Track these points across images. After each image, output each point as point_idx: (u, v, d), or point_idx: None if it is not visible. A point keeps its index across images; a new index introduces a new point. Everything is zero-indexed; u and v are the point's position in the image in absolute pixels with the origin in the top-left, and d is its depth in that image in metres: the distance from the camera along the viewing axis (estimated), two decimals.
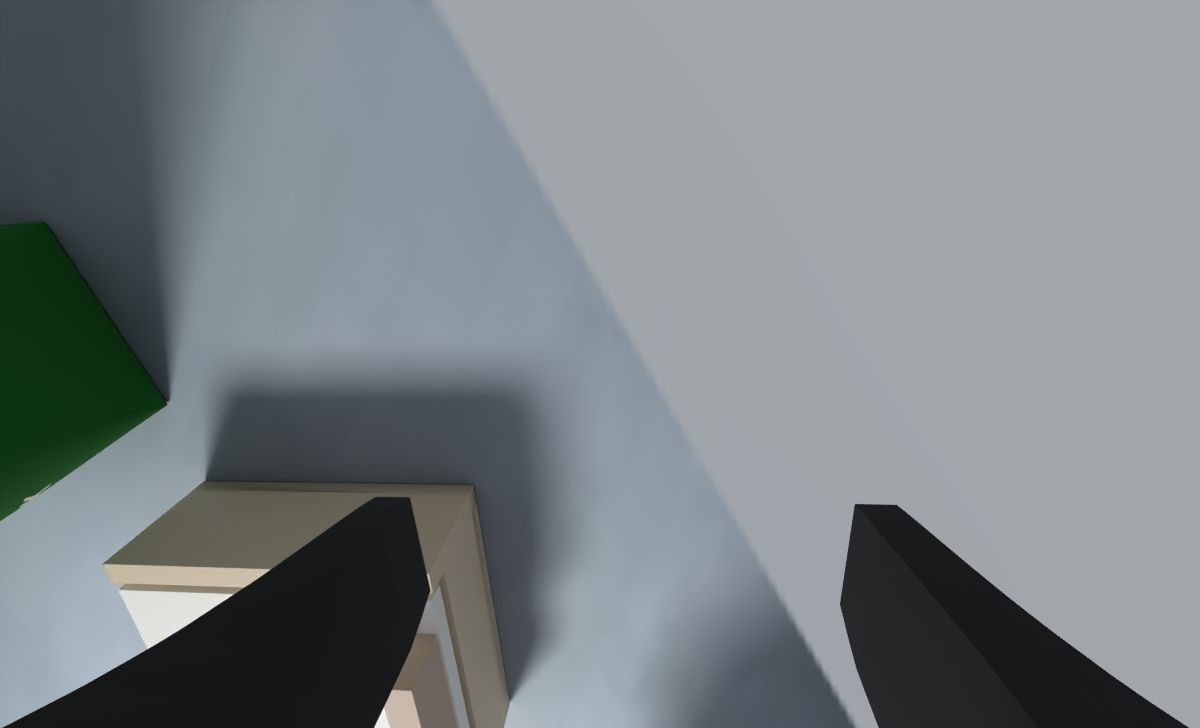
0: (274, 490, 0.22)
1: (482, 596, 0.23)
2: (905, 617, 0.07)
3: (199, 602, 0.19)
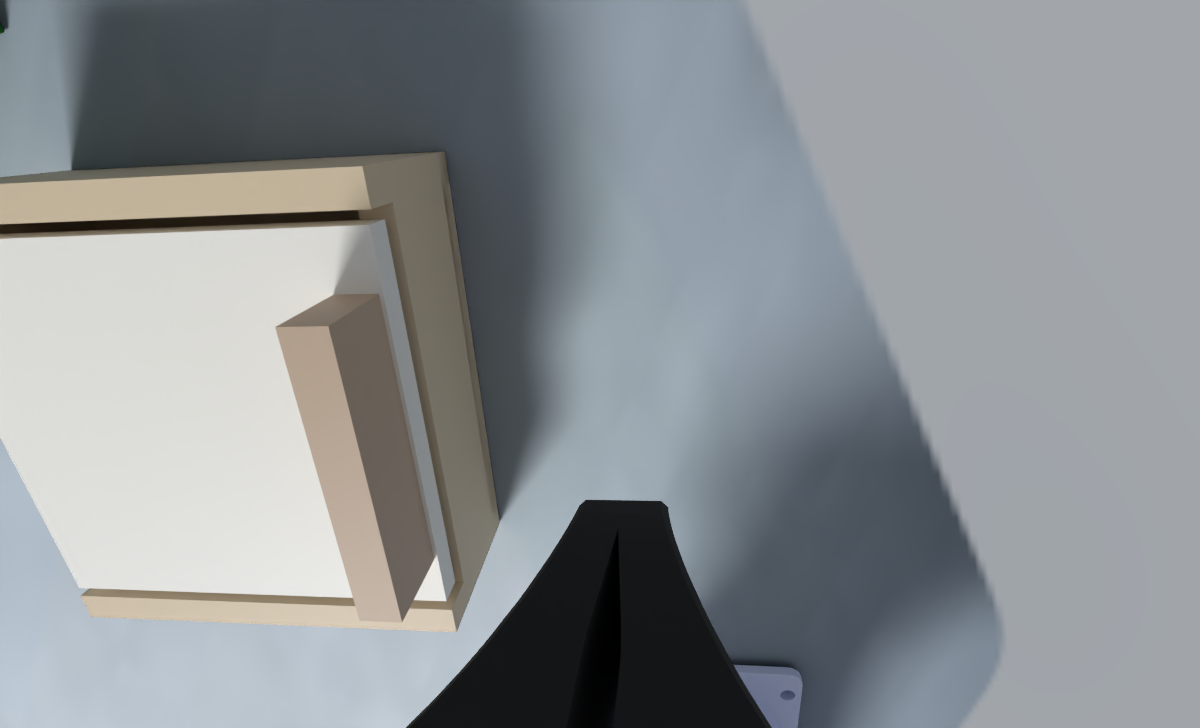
0: (162, 166, 0.16)
1: (459, 328, 0.16)
2: None
3: (19, 257, 0.12)
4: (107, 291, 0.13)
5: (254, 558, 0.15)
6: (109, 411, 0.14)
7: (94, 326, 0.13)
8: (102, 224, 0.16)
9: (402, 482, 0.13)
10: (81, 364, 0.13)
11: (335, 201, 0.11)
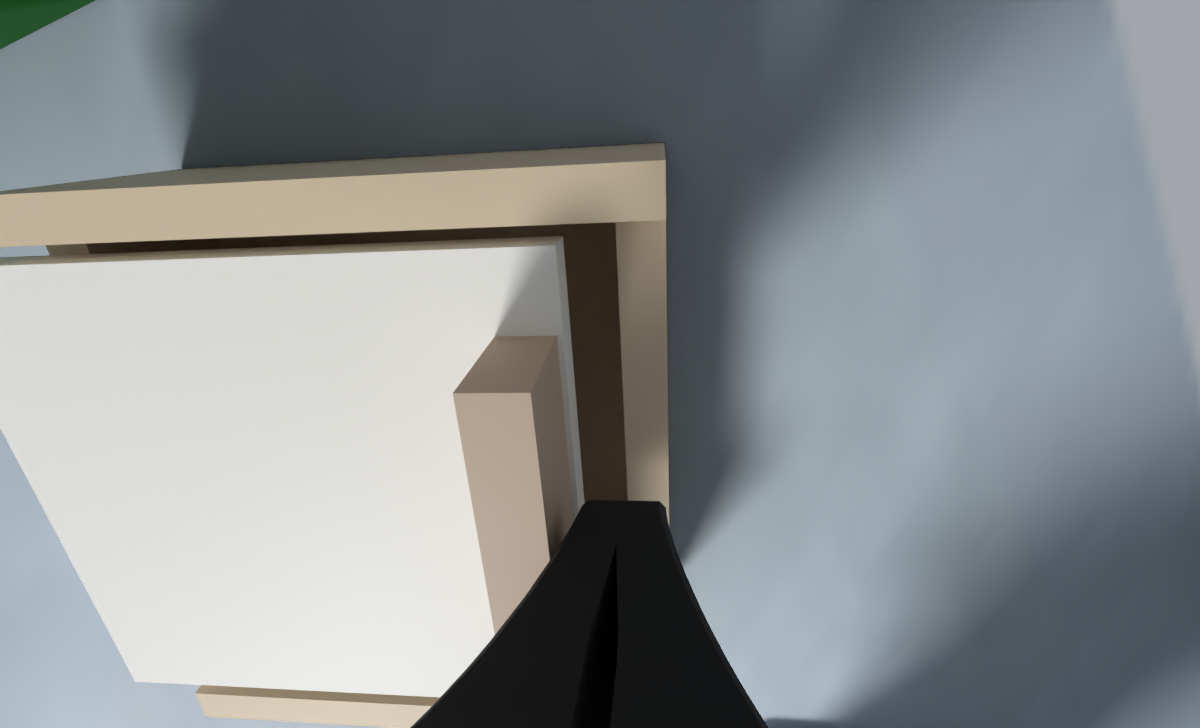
0: (303, 163, 0.12)
1: None
2: None
3: (75, 288, 0.10)
4: (190, 331, 0.10)
5: (355, 652, 0.12)
6: (184, 479, 0.11)
7: (170, 375, 0.10)
8: None
9: None
10: (152, 423, 0.10)
11: (616, 209, 0.08)
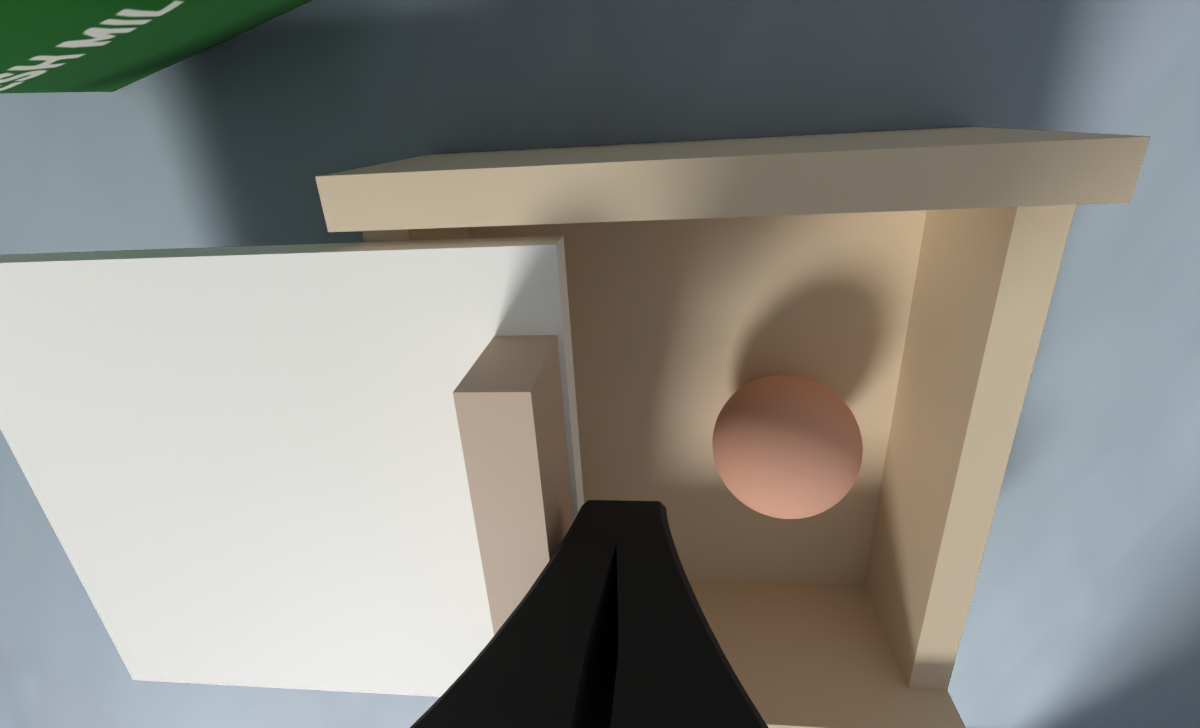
0: (579, 147, 0.12)
1: None
2: None
3: (74, 285, 0.09)
4: (189, 329, 0.10)
5: (354, 651, 0.12)
6: (183, 477, 0.11)
7: (169, 373, 0.10)
8: None
9: None
10: (151, 421, 0.10)
11: (1075, 190, 0.08)
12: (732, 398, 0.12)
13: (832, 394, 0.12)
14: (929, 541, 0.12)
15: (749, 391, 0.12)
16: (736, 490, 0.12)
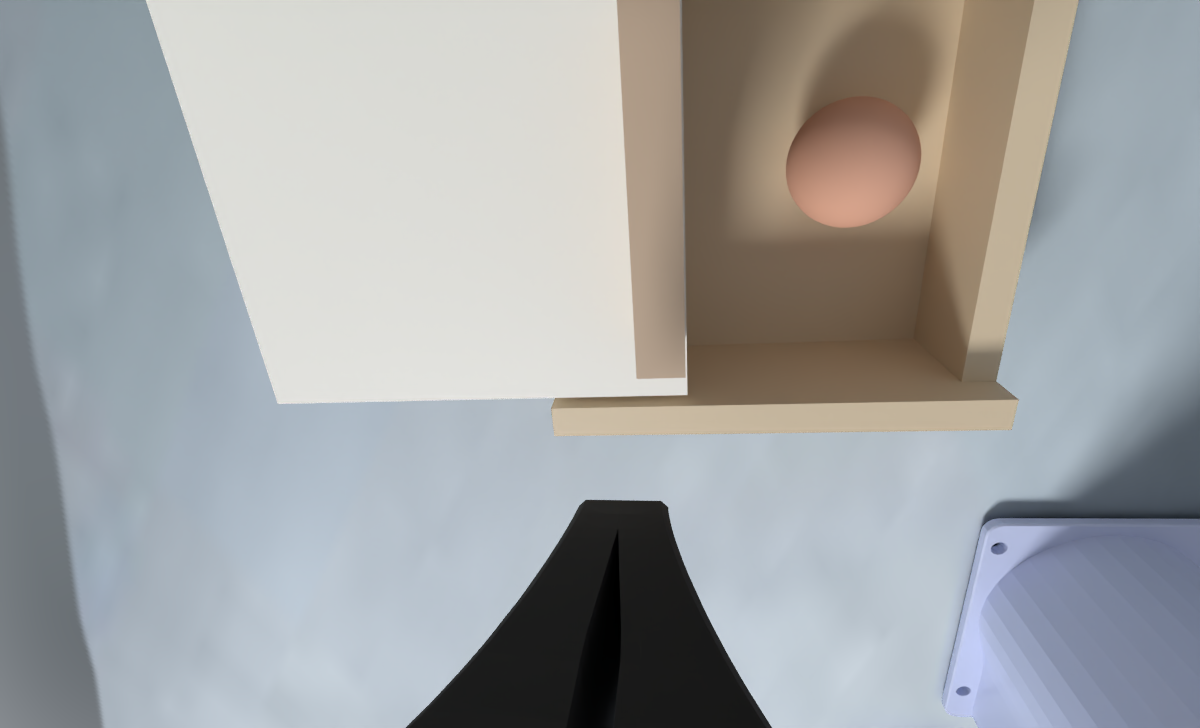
0: None
1: None
2: None
3: None
4: (364, 15, 0.12)
5: (478, 353, 0.14)
6: (343, 173, 0.13)
7: (343, 62, 0.12)
8: None
9: None
10: (321, 114, 0.12)
11: None
12: (804, 123, 0.14)
13: (894, 105, 0.13)
14: (981, 229, 0.13)
15: (820, 109, 0.14)
16: (811, 193, 0.14)
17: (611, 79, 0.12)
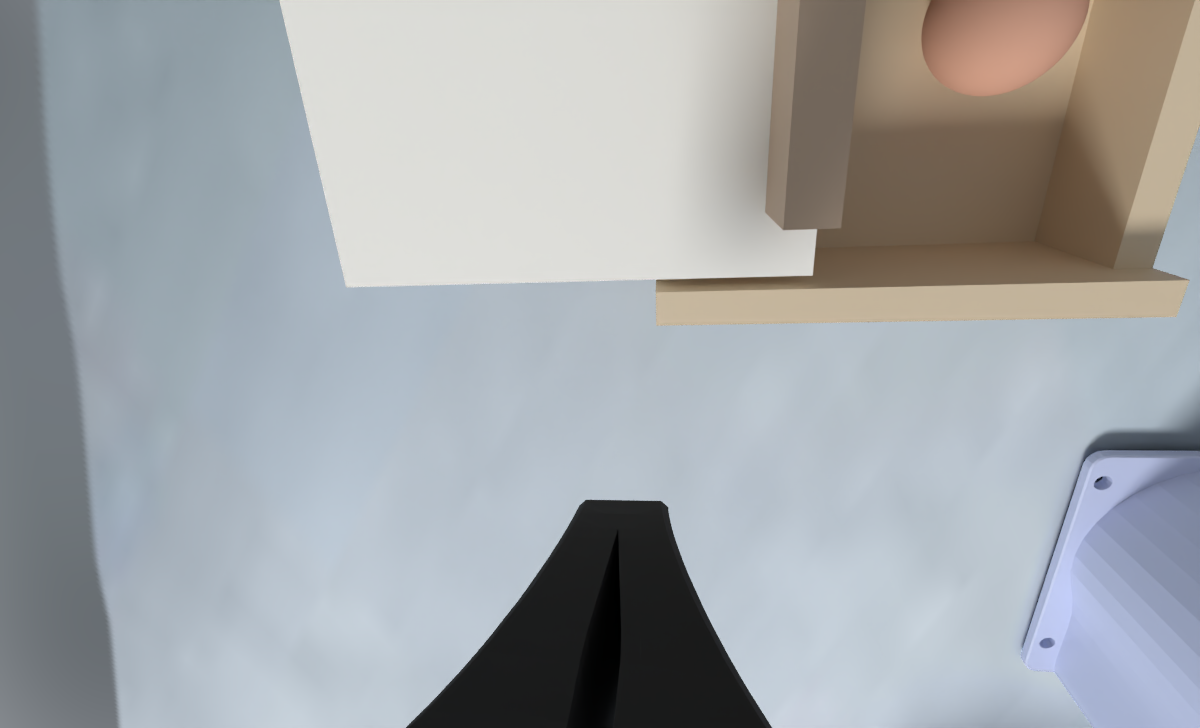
0: None
1: None
2: None
3: None
4: None
5: (580, 224, 0.13)
6: (443, 1, 0.11)
7: None
8: None
9: None
10: None
11: None
12: None
13: None
14: (1153, 87, 0.12)
15: None
16: (963, 45, 0.12)
17: None
